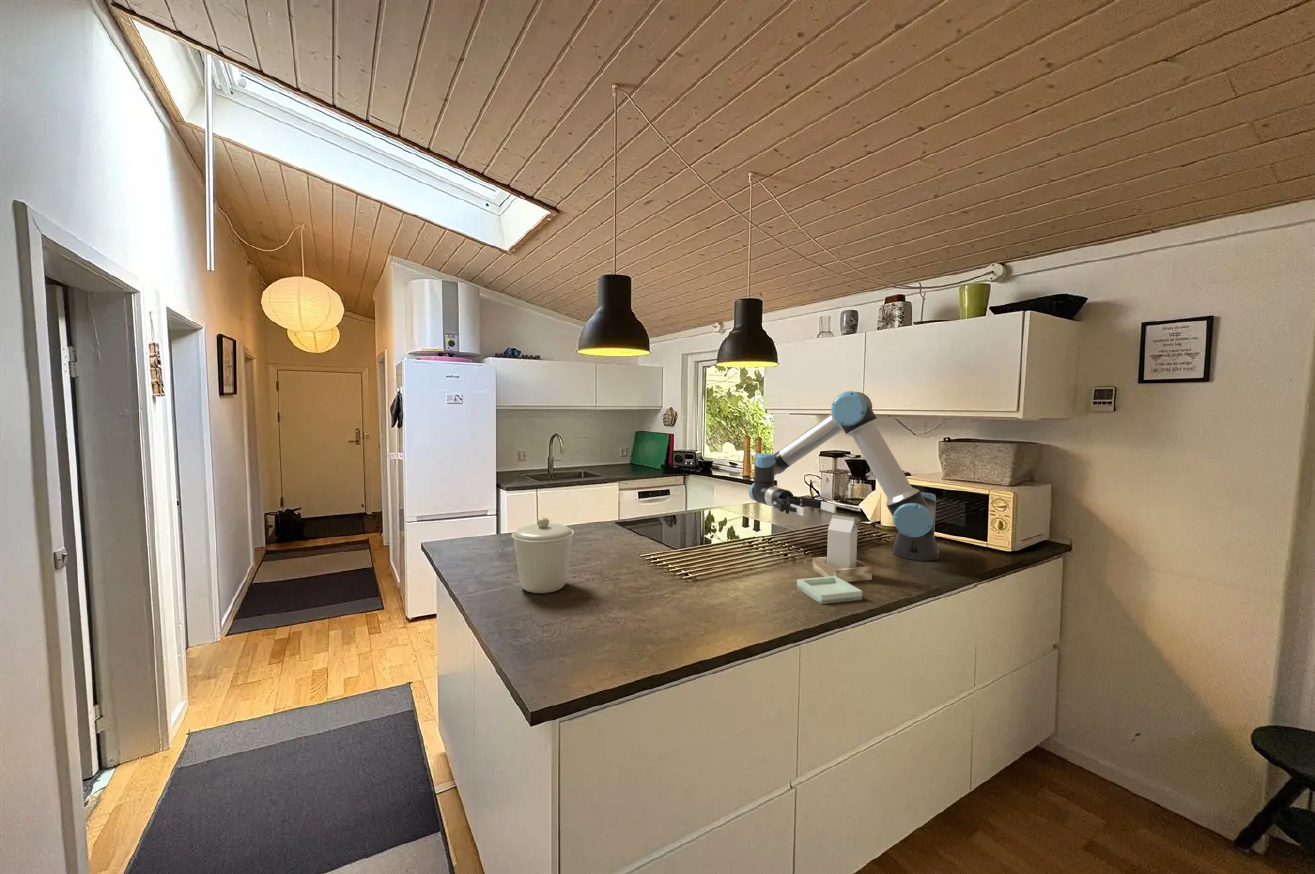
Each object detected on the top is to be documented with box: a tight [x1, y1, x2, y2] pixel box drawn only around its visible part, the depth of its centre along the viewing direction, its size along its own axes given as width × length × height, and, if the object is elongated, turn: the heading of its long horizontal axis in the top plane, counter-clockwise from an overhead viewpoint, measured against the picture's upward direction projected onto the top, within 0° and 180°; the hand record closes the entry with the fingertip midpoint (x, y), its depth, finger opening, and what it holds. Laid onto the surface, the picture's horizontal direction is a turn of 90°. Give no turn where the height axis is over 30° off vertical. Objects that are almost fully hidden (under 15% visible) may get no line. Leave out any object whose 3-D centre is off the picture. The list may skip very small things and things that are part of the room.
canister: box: [511, 517, 575, 594], centre depth 156 cm, size 18×18×21 cm
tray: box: [796, 576, 863, 605], centre depth 153 cm, size 13×13×2 cm
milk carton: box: [826, 514, 858, 569], centre depth 169 cm, size 7×7×19 cm
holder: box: [811, 556, 873, 583], centre depth 170 cm, size 13×13×4 cm
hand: (819, 510), depth 177 cm, fingers open, 13 cm apart
